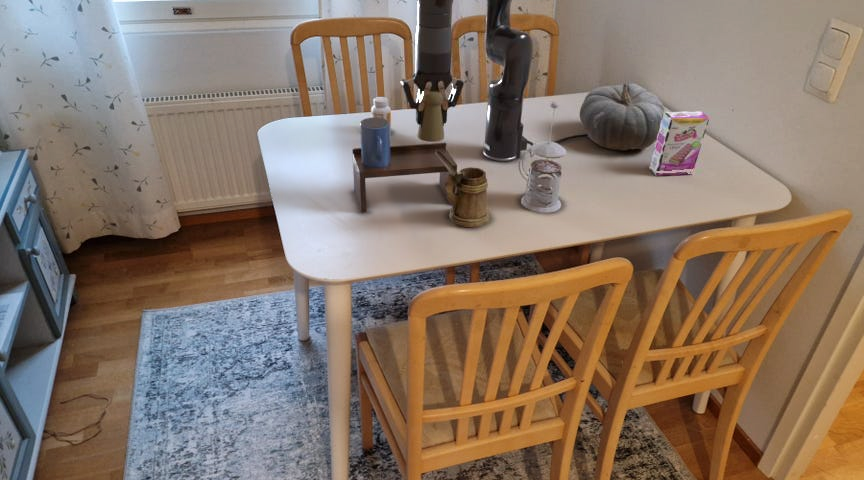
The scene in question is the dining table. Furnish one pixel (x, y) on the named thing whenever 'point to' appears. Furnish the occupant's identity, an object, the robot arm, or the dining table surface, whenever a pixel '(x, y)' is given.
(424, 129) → the olive green peg figure
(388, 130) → the cup
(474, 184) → the wooden mug
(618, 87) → the gourd
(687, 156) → the candy bar box
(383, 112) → the supplement bottle
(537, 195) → the french press
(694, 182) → the dining table surface
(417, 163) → the brown wooden shelf
